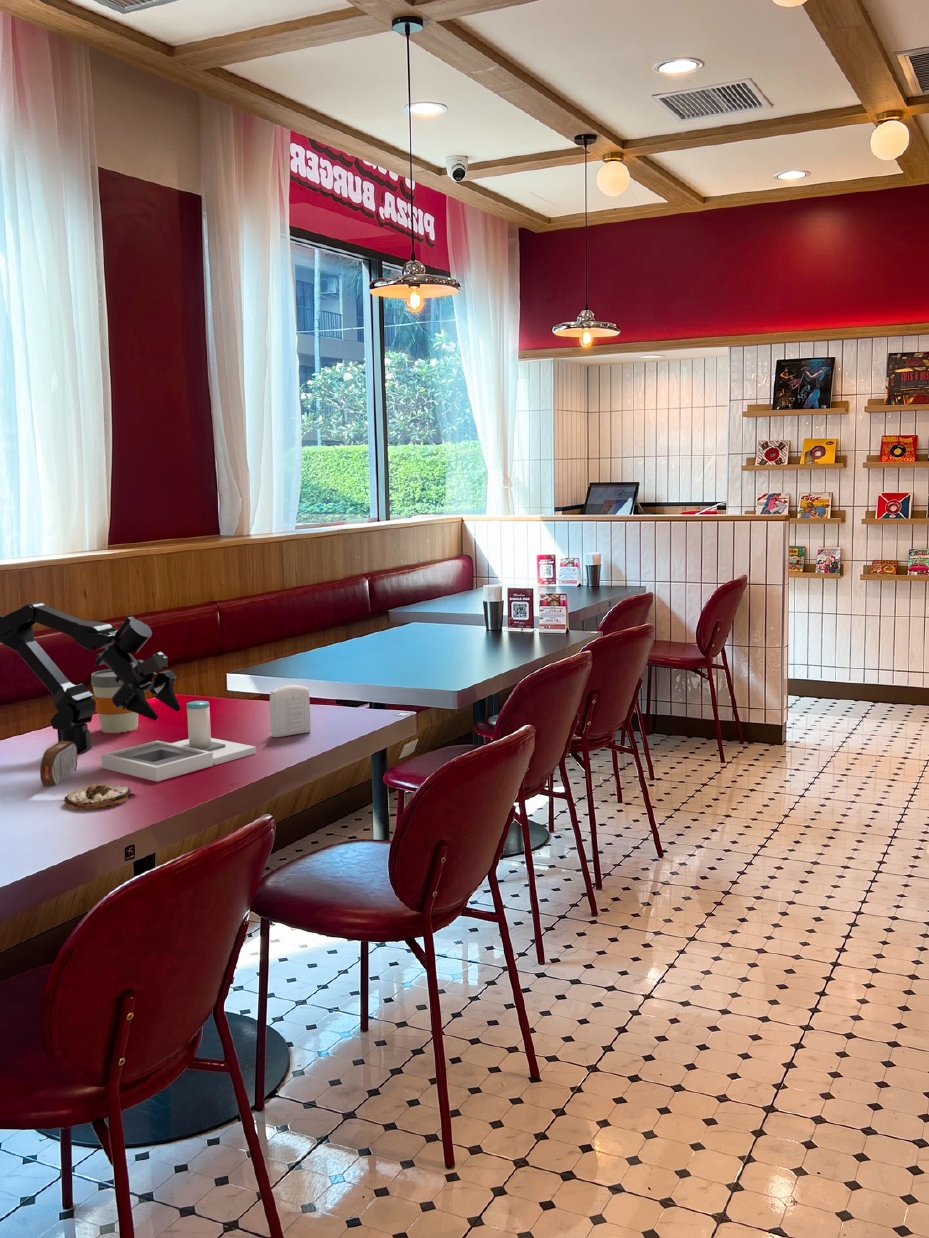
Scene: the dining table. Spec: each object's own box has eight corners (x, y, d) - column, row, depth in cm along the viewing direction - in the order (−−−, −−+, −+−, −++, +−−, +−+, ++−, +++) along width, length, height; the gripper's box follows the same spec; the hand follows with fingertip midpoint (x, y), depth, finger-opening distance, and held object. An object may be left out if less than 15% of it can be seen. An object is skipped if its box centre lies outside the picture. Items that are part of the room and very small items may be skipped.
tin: (67, 772, 247) (64, 736, 246) (81, 772, 247) (78, 735, 246) (39, 792, 232) (36, 753, 231) (54, 792, 232) (51, 753, 231)
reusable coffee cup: (144, 732, 284) (140, 674, 282) (92, 736, 281) (88, 678, 279) (145, 721, 296) (141, 666, 294) (96, 725, 293) (92, 670, 291)
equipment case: (102, 771, 247) (101, 754, 246) (201, 745, 268) (200, 729, 267) (157, 785, 234) (156, 767, 234) (256, 757, 256) (255, 740, 255)
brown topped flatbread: (100, 789, 235) (98, 770, 234) (151, 797, 228) (150, 778, 227) (43, 808, 222) (41, 788, 222) (96, 818, 215) (94, 797, 214)
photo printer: (306, 729, 282) (303, 681, 280) (313, 732, 278) (311, 684, 277) (268, 735, 276) (266, 687, 275) (275, 738, 273) (273, 689, 271)
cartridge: (189, 749, 252) (187, 706, 251) (188, 744, 257) (186, 702, 255) (212, 747, 254) (209, 704, 252) (210, 742, 258) (208, 700, 257)
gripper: (119, 649, 247) (165, 700, 245) (167, 636, 265) (210, 683, 263) (92, 682, 251) (137, 732, 249) (141, 668, 268) (183, 714, 267)
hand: (168, 714), depth 257 cm, fingers open, 9 cm apart
